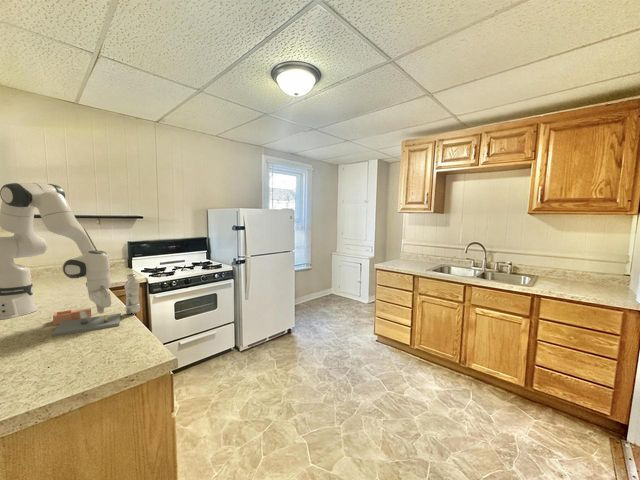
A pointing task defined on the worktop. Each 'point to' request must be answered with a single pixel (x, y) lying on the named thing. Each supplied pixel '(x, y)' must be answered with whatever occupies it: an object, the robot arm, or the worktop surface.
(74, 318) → the orange hollow block
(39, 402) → the worktop surface
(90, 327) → the board
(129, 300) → the plastic bottle
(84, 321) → the post
